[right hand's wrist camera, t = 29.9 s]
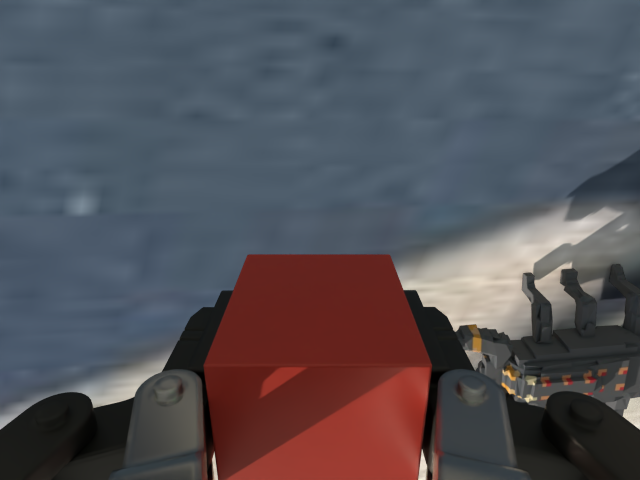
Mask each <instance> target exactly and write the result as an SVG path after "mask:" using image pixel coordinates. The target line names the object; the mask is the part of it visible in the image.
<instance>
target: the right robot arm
mask: <svg viewBox="0 0 640 480" xmlns="http://www.w3.org/2000/svg"><path fill="white" fill-rule="evenodd" d="M403 291H404V293H405V296H406V298H407V301H408V304H409V306H410V309H411V311H412V314H413V317H414V319H415V322H416V325H417V327H418V330H419V332H420V335H421V338H422V340H423V343H424V346H425V348H426V351H427V353H428V356H429V359H430V361H431V364H432V371H431V379H430V387H429V395H428V403H427V411H426V419H425V427H424V435H423V443H422V449H423V453H424V457H425V460H426V464H427V471H426V480H640V430H639V429H638V428H637V427H635V426H634V425H633V424H631V423H630V422H629V421H628V420H626V419H625V418H624V417H622V416H621V415H620V414H619V413H617V412H616V411H615V410H613V409H612V408H611V407H609V406H608V405H606V404H605V403H603V402H601V401H600V400H598V399H596V398H594V397H591V396H588V395H586V394H582V393H578V392H573V391H560V392H556V393H553V394H552V395H550V396H549V398H548V399H547V402H546V406H545V408H543V407H539V406H534V405H530V404H526V403H521V402H517V401H514V400H510V399H507V398H506V397H505V394H504V392H503V390H502V388H501V387H500V386H499V385H498V384H497V383H496V382H495V381H494V380H493V379H491V378H490V377H488V376H486V375H484V374H482V373H479V372H476V371H475V370H474V368H473V366H472V364H471V362H470V360H469V358H468V356H467V355H466V353H465V351H464V349H463V347H462V345H461V343H460V341H459V340H458V337H457V335H456V333H455V331H453V327H452V326H451V324H450V322H449V320H448V318H447V316H445V315H444V314H443V313H442V312H440V311H439V310H438V309H437V308H435V307H423V305H422V302H421V300H420V298H419V296H418V293H417V291H416V290H403ZM232 293H233V291H221V293H220V295H219V298H218V300H217V302H216V304H215V307H203V308H202V309H200V310H199V311H198V312H197V313H195V314H194V315H193V316H192V317H191V318H190V320H189V321H188V323H187V325H186V327H185V331H183V333H182V335H181V337H180V341H178V342H177V344H176V346H175V348H174V350H173V352H172V354H171V356H170V357H169V359H168V361H167V363H166V365H165V367H164V369H163V371H162V372H161V373H158V374H156V375H154V376H152V377H150V378H149V379H147V380H146V381H145V382H144V383H143V384H142V385H141V386H140V387H139V388H138V390H137V392H136V394H135V397H133V398H131V399H128V400H125V401H122V402H118V403H114V404H109V405H105V406H101V407H96V408H93V405H92V402H91V399H90V398H89V397H88V396H86V395H85V394H82V393H77V392H68V393H61V394H57V395H53V396H51V397H48V398H45V399H43V400H41V401H39V402H37V403H36V404H34V405H32V406H31V407H29V408H28V409H27V410H25V411H24V412H23V413H21V414H20V415H19V416H18V417H16V418H15V419H14V420H12V421H11V422H10V423H9V424H7V425H6V426H5V427H3V428H2V429H1V430H0V480H214V470H213V463H212V458H213V454H214V443H213V435H212V427H211V420H210V412H209V404H208V397H207V389H206V381H205V373H204V366H203V365H204V363H205V360H206V358H207V355H208V353H209V350H210V348H211V345H212V343H213V340H214V338H215V335H216V333H217V330H218V328H219V325H220V323H221V320H222V318H223V315H224V313H225V310H226V308H227V305H228V303H229V300H230V298H231V295H232Z"/></svg>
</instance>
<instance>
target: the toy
mask: <svg viewBox="0 0 640 480" xmlns="http://www.w3.org/2000/svg"><path fill="white" fill-rule="evenodd" d="M577 273H578V272H577V271H576V270H575V269H563V270H562V271H561V279H560V283H561V284H562V285H564V286H565V288H564V291H566V292H567V293H568V294H569V295H570V296H571V297H573V298H574V299H575V302H576V314H575V325H576V328H573V329H561V330H553V334H552V308H551V304H550V302H549V301H548V300H547V299H546V298H545V297H544V296H543V295H542V294H541V293H540V292H539V291H538V290H537V289H536V288H535V284H534V277H535V276H534V275H533V274H532V273H523V282H522V291H523V292H524V293H525V295H526V296H527V297H528V298H529V300H530V302H531V303H532V304H531V307H532V332H533V336H527V337H523V338H521V340H510V339H509V337H508V335H505V334H504V332H502V333H499V334H498V333H497V331H496V329H487V328H482V329H480V328H477V326H476V324H475V325H464V326H460V327H459V329H458V330H457V332H455V333H456V335H457V337H458V340H459V341H460V343H461V345H462V347H463V349H464V350H469V351H474V352H479V353H483V355H482V361H480V362H479V364H478V368H477V369H476V372H479V373H482V374H484V375H486V376H488V377H490V378H491V379H493V380H494V381H495V382H496V383H497V384H498V385H499V386H500V387H501V388H502V390H503V392H504V394H505V397H506V398H507V399H510V400H514V401H517V402H521V403H526V404H530V405H534V406H539V407H543V408H545V406H546V402H547V399H548V398H549V396H550V395H552V394H553V393H556V392H560V391H573V392H578V393H582V394H586V395H588V396H591V397H594V398H596V399H598V400H600V401H601V402H603V403H605V404H606V405H608V406H609V407H611V408H612V409H613V410H615V411H616V412H617V413H619V414H620V415H621V416H623V412H624V409H627V406H628V403H629V400H630V398H636V397H640V289H639V288H638V287H636V286H635V285H633V284H632V283H630V282H629V281H627V280H626V279H625V276H624V272H623V268H622V266H621V265H620V264H616V265H612V268H611V274H610V280H609V282H610V283H611V284H612V285H613V286H615V287H616V288H617V289H618V290H619V291H620V292H621V293H622V294H623V296H624V297H625V298H626V304H625V319H624V323H623V328H622V327H620V326H618V325H614V326H596V310H597V302H596V300H595V298H593V297H592V296H590V295H589V294H587V293H585V292H584V291H583V290H582V288H581V287H580V285H579V283H578V281H577ZM508 392H509V393H508Z"/></svg>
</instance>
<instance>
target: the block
mask: <svg viewBox="0 0 640 480" xmlns="http://www.w3.org/2000/svg"><path fill="white" fill-rule="evenodd" d="M203 366H204V373H205V381H206V389H207V397H208V404H209V412H210V420H211V427H212V435H213V443H214V451H215V458H216V466H217V474H218V480H418V475H419V467H420V459H421V451H422V443H423V435H424V427H425V419H426V411H427V403H428V395H429V387H430V379H431V371H432V364H431V361H430V359H429V356H428V353H427V351H426V348H425V346H424V343H423V340H422V338H421V335H420V332H419V330H418V327H417V325H416V322H415V319H414V317H413V314H412V311H411V309H410V306H409V304H408V301H407V298H406V296H405V293H404V291H403V288H402V285H401V283H400V280H399V277H398V275H397V272H396V270H395V267H394V264H393V262H392V259H391V256H390V255H247V258H246V260H245V263H244V265H243V268H242V270H241V273H240V275H239V278H238V280H237V283H236V285H235V288H234V290H233V293H232V295H231V298H230V300H229V303H228V305H227V308H226V310H225V313H224V315H223V318H222V320H221V323H220V325H219V328H218V330H217V333H216V335H215V338H214V340H213V343H212V345H211V348H210V350H209V353H208V355H207V358H206V360H205V363H204V365H203Z"/></svg>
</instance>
